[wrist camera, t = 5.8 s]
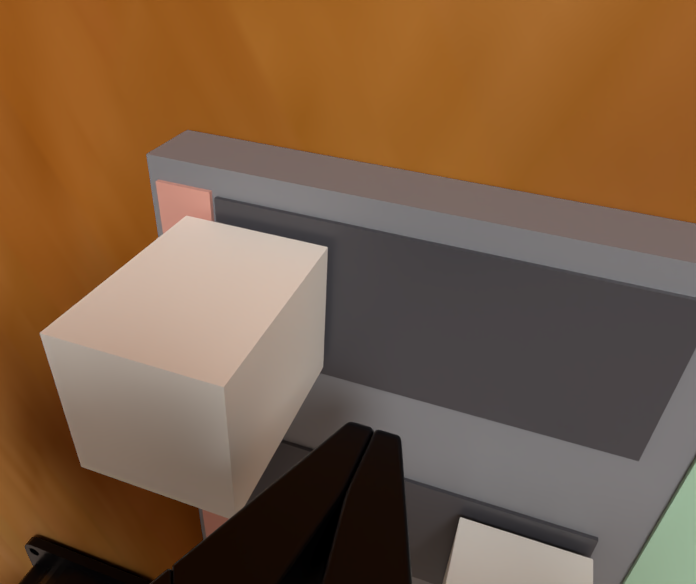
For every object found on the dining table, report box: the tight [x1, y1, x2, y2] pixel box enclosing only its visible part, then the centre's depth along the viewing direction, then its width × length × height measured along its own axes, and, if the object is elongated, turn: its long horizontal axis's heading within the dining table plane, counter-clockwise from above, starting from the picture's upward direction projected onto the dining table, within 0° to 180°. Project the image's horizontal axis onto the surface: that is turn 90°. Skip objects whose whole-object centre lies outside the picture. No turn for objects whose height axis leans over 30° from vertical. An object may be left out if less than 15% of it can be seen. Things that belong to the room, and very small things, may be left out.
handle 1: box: [40, 216, 328, 519], centre depth 11 cm, size 3×3×4 cm
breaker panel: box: [146, 130, 696, 584], centre depth 16 cm, size 14×18×2 cm
